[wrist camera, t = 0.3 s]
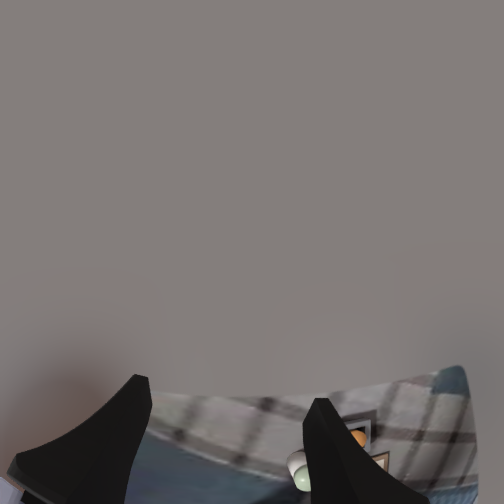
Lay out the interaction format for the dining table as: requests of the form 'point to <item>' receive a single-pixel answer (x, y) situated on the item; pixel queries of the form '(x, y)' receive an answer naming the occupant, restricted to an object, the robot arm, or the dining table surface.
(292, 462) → the white and green cylinder
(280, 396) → the dining table surface
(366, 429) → the button housing
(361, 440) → the button
